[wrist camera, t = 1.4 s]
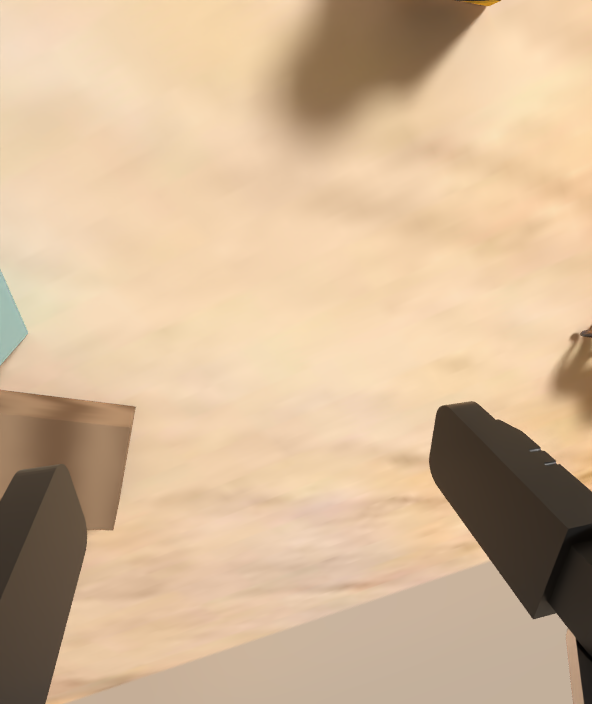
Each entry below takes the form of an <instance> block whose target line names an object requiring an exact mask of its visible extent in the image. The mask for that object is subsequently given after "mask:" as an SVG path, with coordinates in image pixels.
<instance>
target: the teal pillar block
mask: <svg viewBox="0 0 592 704" xmlns="http://www.w3.org/2000/svg"><path fill="white" fill-rule="evenodd" d="M27 334H28V331H27V329H26V327H25V324H24V322H23V320H22V318H21V315H20V313H19V311H18V308H17V306H16V304H15V302H14V299H13V297H12V295H11V293H10V290H9V288H8V286H7V283H6V281H5V279H4V277H3V274H2V272H1V270H0V365H1V364H2V363H3V362H4V360H5V359H6V358H7V357H8V356H9V355H10V354H11V352H12V351H13V350H14V349H15V348H16V347H17V346H18V344H19V343H20V342H21V341H22V340H23V339H24V338H25V337H26V335H27Z"/></svg>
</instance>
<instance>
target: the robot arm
mask: <svg viewBox="0 0 592 704" xmlns="http://www.w3.org/2000/svg"><path fill="white" fill-rule="evenodd" d="M429 465H430V470H431V474H432V477H433V479H434V481H435V483H436V485H437V486H438V488H439V489H440V491H441V492H442V493H443V495H444V496H445V497H446V499H447V500H448V502H449V503H450V504H451V506H452V507H453V509H454V510H455V511H456V513H457V514H458V516H459V517H460V518H461V520H462V521H463V523H464V524H465V525H466V527H467V528H468V529H469V531H470V532H471V534H472V535H473V536H474V538H475V539H476V541H477V542H478V543H479V545H480V546H481V548H482V549H483V550H484V552H485V553H486V554H487V556H488V557H489V559H490V560H491V561H492V563H493V564H494V565H495V567H496V568H497V570H498V571H499V573H500V574H501V575H502V577H503V578H504V579H505V581H506V582H507V583H508V585H509V586H510V588H511V589H512V590H513V592H514V593H515V595H516V596H517V598H518V599H519V600H520V602H521V603H522V604H523V606H524V607H525V608H526V610H527V611H528V613H529V614H530V615H531V617H532V618H533V619H536V618H540V617H544V616H547V615H551V614H555V613H557V614H558V616H559V617H560V618H561V619H562V621H563V622H564V623H565V625H566V626H567V627H568V629H567V634H566V644H567V653H568V662H569V671H570V680H571V689H572V698H573V704H592V492H591V491H590V490H589V489H588V488H587V487H586V486H585V485H583V484H582V483H581V482H580V481H579V480H578V479H576V478H575V477H574V476H573V475H572V474H571V473H570V472H568V471H567V470H566V469H565V468H564V467H563V466H561V465H560V464H558V465H557V464H556V460H554V459H553V458H552V457H551V456H550V455H549V454H548V453H546V452H545V451H541V449H540V447H539V446H538V445H537V444H536V443H535V442H534V441H533V440H531V439H530V438H529V437H528V436H527V435H526V434H524V433H523V432H522V431H520V430H518V429H516V428H514V427H512V426H511V425H509V424H507V423H505V422H503V421H501V420H495V419H494V418H493V417H492V416H491V415H490V414H489V413H488V412H486V411H485V410H484V409H483V408H482V407H481V406H480V405H479V404H477V403H476V402H472V401H471V402H464V403H457V404H450V405H444V406H441V407H439V409H438V410H437V413H436V419H435V425H434V431H433V438H432V444H431V450H430V456H429ZM86 545H87V527H86V521H85V517H84V514H83V511H82V508H81V505H80V502H79V499H78V496H77V494H76V491H75V488H74V485H73V482H72V479H71V476H70V473H69V470H68V468H67V467H66V466H65V465H64V464H57V465H50V466H43V467H37V468H30V469H23V470H19V471H18V472H17V473H16V474H15V475H14V477H13V478H12V480H11V482H10V484H9V486H8V488H7V489H6V491H5V493H4V495H3V497H2V499H1V500H0V704H45V703H46V699H47V695H48V692H49V688H50V684H51V680H52V676H53V673H54V669H55V665H56V661H57V657H58V654H59V650H60V646H61V642H62V639H63V635H64V631H65V627H66V623H67V620H68V616H69V612H70V608H71V605H72V601H73V597H74V593H75V589H76V586H77V582H78V578H79V574H80V571H81V567H82V563H83V559H84V555H85V551H86Z"/></svg>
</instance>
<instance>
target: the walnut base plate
mask: <svg viewBox="0 0 592 704" xmlns="http://www.w3.org/2000/svg"><path fill="white" fill-rule="evenodd" d="M134 413H135V407H133V406H125V405H117V404H109V403H101V402H93V401H85V400H77V399H69V398H60V397H52V396H44V395H36V394H28V393H20V392H12V391H4V390H0V500H1V499H2V497H3V495H4V493H5V491H6V489H7V488H8V486H9V484H10V482H11V480H12V478H13V477H14V475H15V474H16V473H17V472H18V471H19V470H23V469H30V468H37V467H43V466H50V465H57V464H64V465H65V466H66V467H67V468H68V470H69V473H70V476H71V479H72V482H73V485H74V488H75V491H76V494H77V496H78V499H79V502H80V505H81V508H82V511H83V514H84V517H85V521H86V527H87V529H90V530H113V529H114V524H115V519H116V514H117V510H118V505H119V499H120V493H121V487H122V482H123V476H124V470H125V465H126V459H127V453H128V447H129V442H130V436H131V430H132V424H133V419H134Z"/></svg>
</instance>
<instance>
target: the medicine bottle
mask: <svg viewBox="0 0 592 704" xmlns="http://www.w3.org/2000/svg"><path fill="white" fill-rule="evenodd" d="M456 1H461V2H467V3H472V4H478V5H483V6H490V5H493V4H495V3H497V2H499V1H501V0H456Z"/></svg>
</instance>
